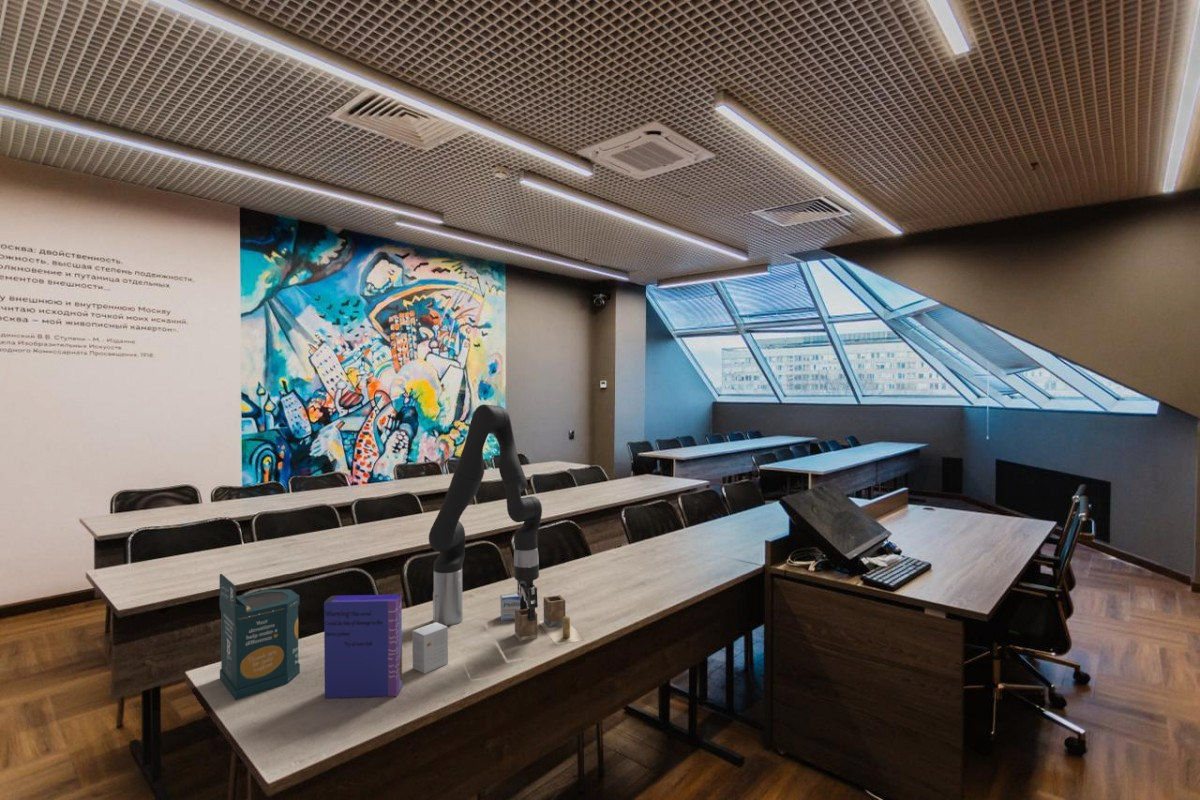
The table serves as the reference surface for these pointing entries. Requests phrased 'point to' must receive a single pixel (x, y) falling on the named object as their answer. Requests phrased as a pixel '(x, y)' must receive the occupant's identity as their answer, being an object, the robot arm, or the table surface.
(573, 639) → the pin board
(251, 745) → the table surface
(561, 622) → the wooden pen holder
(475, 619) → the table surface
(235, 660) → the donation box
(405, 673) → the table surface
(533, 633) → the sleeve brown
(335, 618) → the cereal box
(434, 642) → the small box
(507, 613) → the medicine box
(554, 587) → the table surface
